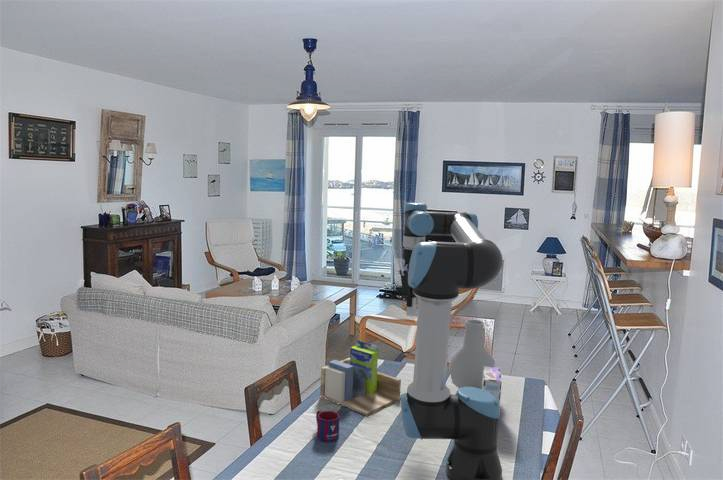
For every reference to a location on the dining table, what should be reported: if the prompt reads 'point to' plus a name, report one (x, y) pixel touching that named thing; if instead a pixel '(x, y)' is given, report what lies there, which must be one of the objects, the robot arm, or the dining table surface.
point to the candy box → (492, 381)
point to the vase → (470, 357)
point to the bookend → (358, 386)
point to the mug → (327, 425)
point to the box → (365, 364)
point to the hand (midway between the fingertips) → (410, 315)
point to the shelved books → (339, 381)
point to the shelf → (370, 402)
